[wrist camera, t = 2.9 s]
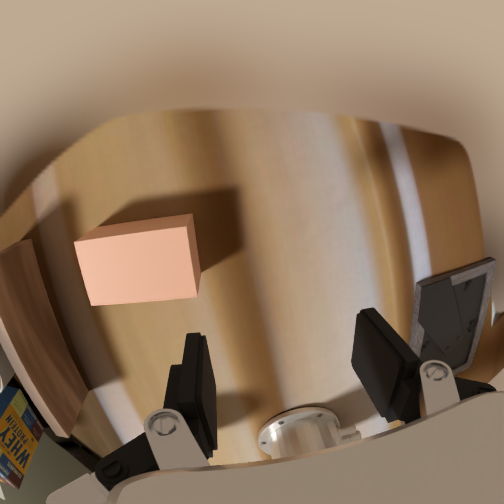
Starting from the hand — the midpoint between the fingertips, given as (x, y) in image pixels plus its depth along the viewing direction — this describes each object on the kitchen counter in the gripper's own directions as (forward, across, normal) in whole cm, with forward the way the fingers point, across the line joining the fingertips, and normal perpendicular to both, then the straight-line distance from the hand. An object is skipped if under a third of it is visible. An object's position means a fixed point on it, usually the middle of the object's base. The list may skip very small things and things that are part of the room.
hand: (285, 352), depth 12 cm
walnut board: (+18, +25, +8) cm, 32 cm away
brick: (+18, +10, 0) cm, 20 cm away
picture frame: (+18, -29, +18) cm, 39 cm away
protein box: (+18, +47, +25) cm, 56 cm away
